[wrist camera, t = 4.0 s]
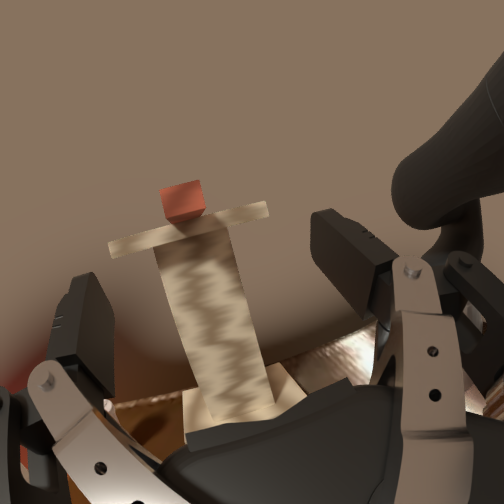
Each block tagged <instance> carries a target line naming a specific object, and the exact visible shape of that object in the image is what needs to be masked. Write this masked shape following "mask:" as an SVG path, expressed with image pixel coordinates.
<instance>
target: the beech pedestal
mask: <svg viewBox="0 0 504 504" xmlns="http://www.w3.org/2000/svg"><path fill="white" fill-rule="evenodd" d="M268 216H269V213H268V209H267V205H266V201H262V202H258V203H253V204H249V205H245V206H241V207H237V208H233V209H228V210H224V211H220V212H216V213H212V214H208V215H204V216H201V217H197V218H193V219H189V220H185V221H182V222H178V223H174V224H171V225H167V226H163V227H160V228H157V229H153V230H149V231H146V232H142V233H139V234H136V235H132V236H128V237H125V238H122V239H118V240H115V241H112V242H108V246H109V250H110V254H111V257H112V259H113V258H116V257H120V256H123V255H127V254H131V253H134V252H138V251H141V250H144V249H148V248H152V247H153V249H154V253H155V257H156V261H157V264H158V268H159V271H160V275H161V278H162V281H163V285H164V288H165V291H166V295H167V298H168V301H169V305H170V308H171V311H172V314H173V317H174V320H175V323H176V326H177V329H178V332H179V335H180V338H181V340H182V343H183V346H184V349H185V352H186V354H187V357H188V360H189V362H190V365H191V368H192V370H193V373H194V376H195V378H196V381H197V383H198V386H199V387H198V388H194V389H191V390H187V391H183V417H184V437H185V433H189V432H193V431H198V430H202V429H206V428H210V427H213V426H217V425H221V424H224V423H236V422H249V421H260V420H269V419H273V418H276V417H278V416H279V415H281V414H282V413H284V412H285V411H287V410H288V409H289V408H291V407H292V406H294V405H295V404H297V403H298V402H300V401H301V400H302V399H304V398H305V397H306V396H307V395H306V394H305V393H304V392H303V391H302V389H301V388H300V387H299V386H298V385H297V383H296V382H295V381H294V380H293V379H292V377H291V376H290V375H289V374H288V372H287V371H286V370H285V369H284V367H283V366H282V365H281V364H280V363H279V362H278V363H276V364H273V365H270V366H267V367H264V363H263V359H262V356H261V353H260V349H259V345H258V341H257V338H256V335H255V331H254V327H253V323H252V320H251V316H250V312H249V309H248V305H247V301H246V297H245V294H244V290H243V286H242V282H241V279H240V275H239V271H238V268H237V264H236V260H235V256H234V252H233V248H232V244H231V240H230V237H229V233H228V229H227V227H230V226H233V225H237V224H241V223H245V222H249V221H253V220H257V219H261V218H264V217H268ZM185 443H186V444H187V441H186V437H185Z"/></svg>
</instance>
